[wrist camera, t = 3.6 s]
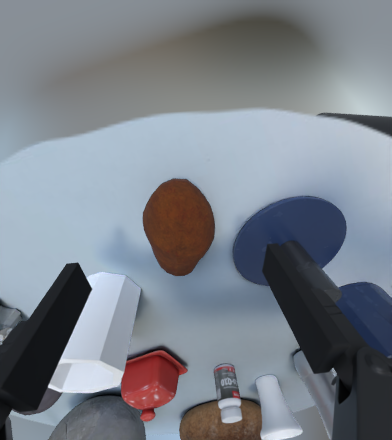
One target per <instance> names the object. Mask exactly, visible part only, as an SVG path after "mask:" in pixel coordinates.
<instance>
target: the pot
mask: <svg viewBox="0 0 392 440" xmlns="http://www.w3.org/2000/svg"><path fill="white" fill-rule="evenodd" d="M339 289H340V291H341V292H342V296H341V298H340V299H339V300H338V301H337V302H336V303H335V304H336V306H338V308H339V309H340V310H341V311H342V313H343V314H344V315H345V316H346V318H347V319H348V320H349V322H350V323H351V324H352V325H353V327H354V328H355V329H356V330H357V332H358V333H359V334H360V335H361V337H362V338H363V339H364V341H365V342H366V343H367V344H368V345H369V346H370V347H371V348H373V349H376V350H378V351H379V352H381V353H382V354H384V355H385V356H386V357H387V358H390V359H392V298H391V297H390V296H389V295H388V294H387V293H386V292H385V291H384V290H383V289H381V288H380V287H379V286H377V285H375V284H372V283H364V282H363V283H353V284H349V285H345V286H342V287H339Z"/></svg>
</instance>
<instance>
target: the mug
mask: <svg viewBox="0 0 392 440" xmlns="http://www.w3.org/2000/svg"><path fill="white" fill-rule="evenodd" d="M86 278H87V280H88V282H89V284H90V286H91V288H92V291H91V293H90V295H89V297H88V300H87V302H86V304H85V306H84V308H83V311H82V313H81V315H80V317H79V319H78V322H77V324H76V326H75V328H74V330H73V333H72V335H71V337H70V339H69V341H68V344H67V346H66V348H65V350H64V352H63V355H62V357H61V359H60V361H59V363H58V366H57V368H56V370H55V372H54V374H53V377H52V379H51V381H50V383H49V385H48V388H51V389H53V390H56V391H58V392H68V393H94V392H98V391H102V390H106V389H109V388H113V387H117V386H119V384H120V382H121V379H122V376H123V374H124V370H125V365H126V360H127V355H128V351H129V346H130V341H131V336H132V331H133V326H134V321H135V316H136V312H137V307H138V302H139V297H140V292H141V288H140V287H139V286H138V285H136V284H135V283H134V282H133V281H132V280H131V279H129V278H128V277H127V276H126V275H120V274H113V273H106V272H99V273H96V274H93V275H90V276H88V277H86Z"/></svg>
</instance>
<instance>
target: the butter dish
mask: <svg viewBox="0 0 392 440" xmlns="http://www.w3.org/2000/svg"><path fill="white" fill-rule="evenodd" d="M187 371H188V370H187V369H186V368H185V367H184V366H183V365H182V364H180V363H179V362H178V361H177V360H176V359H174V358H173V357H172V356H171V355H169V354H168V353H167V352H165V351H163V350H158V351H154V352H151V353H148V354H145V355H143V356H140V357H137V358H134V359H131V360H127V361H126V365H125V370H124V374H123V376H122V379H121V394H122V398H123V400H124V401H125V402H126V403H127V404H129V405H130V406H132V407H134V408H136V409H140V410H142V414H141V416H140V419H141V420H142V421H150V420H152V419H153V418H154V417H155V412H154V408H157V407H160V406H162V405H164V404H166V403H168V402H169V401H171V400H172V399H173V398H174V396H175V394H176V390H177V383H178V377H179V375H181V374H184V373H186V372H187Z"/></svg>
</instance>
